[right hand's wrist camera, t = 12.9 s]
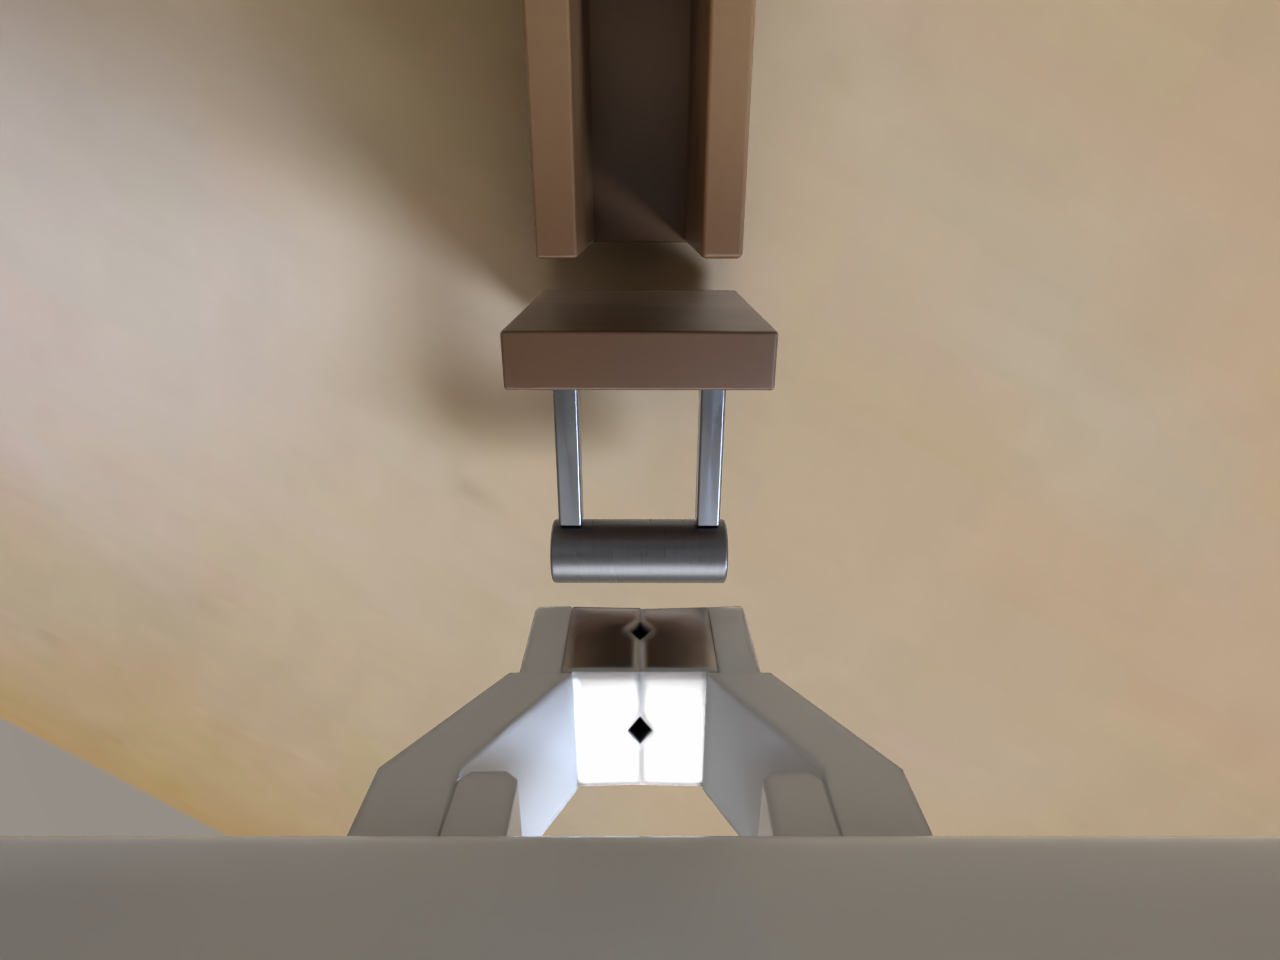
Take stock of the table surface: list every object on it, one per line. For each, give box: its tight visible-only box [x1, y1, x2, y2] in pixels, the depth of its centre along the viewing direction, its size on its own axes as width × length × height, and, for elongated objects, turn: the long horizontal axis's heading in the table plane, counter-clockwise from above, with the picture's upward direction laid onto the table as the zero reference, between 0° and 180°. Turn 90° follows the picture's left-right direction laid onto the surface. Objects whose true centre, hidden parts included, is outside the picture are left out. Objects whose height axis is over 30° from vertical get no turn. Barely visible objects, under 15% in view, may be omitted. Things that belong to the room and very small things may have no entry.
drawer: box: [500, 0, 778, 583], centre depth 15 cm, size 23×6×7 cm, turn 0°
